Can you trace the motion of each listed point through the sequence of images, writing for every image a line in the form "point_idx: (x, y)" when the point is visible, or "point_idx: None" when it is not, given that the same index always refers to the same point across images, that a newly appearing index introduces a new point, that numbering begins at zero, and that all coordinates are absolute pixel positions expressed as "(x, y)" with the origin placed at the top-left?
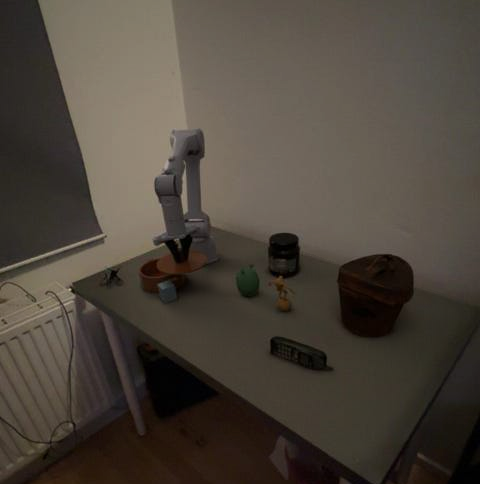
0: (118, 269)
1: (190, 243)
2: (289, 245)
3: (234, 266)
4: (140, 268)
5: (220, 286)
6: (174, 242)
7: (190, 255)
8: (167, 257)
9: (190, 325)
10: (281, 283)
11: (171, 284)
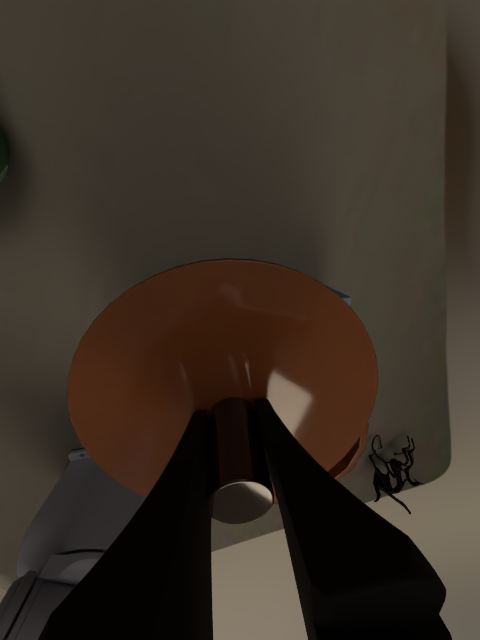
0: (378, 491)
1: (112, 559)
2: None
3: (15, 393)
4: (349, 467)
5: (102, 287)
6: (337, 636)
7: (164, 453)
8: None
9: (306, 57)
10: None
11: None
